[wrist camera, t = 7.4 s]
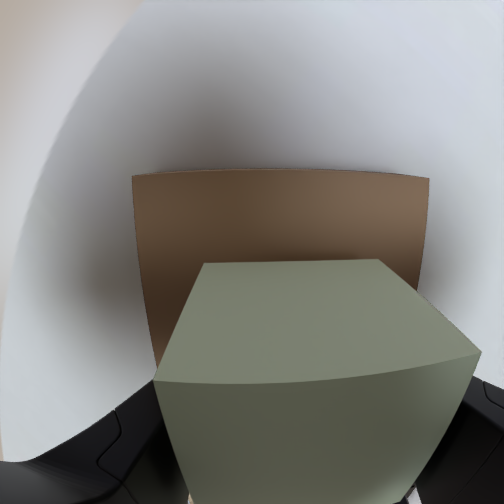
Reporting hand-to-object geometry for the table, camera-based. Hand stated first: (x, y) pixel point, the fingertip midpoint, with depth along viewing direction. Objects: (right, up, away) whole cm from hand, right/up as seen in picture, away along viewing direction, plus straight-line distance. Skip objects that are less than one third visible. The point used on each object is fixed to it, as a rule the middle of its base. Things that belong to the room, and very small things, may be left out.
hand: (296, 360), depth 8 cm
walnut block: (0, +2, +5) cm, 6 cm away
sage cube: (0, 0, +1) cm, 1 cm away
